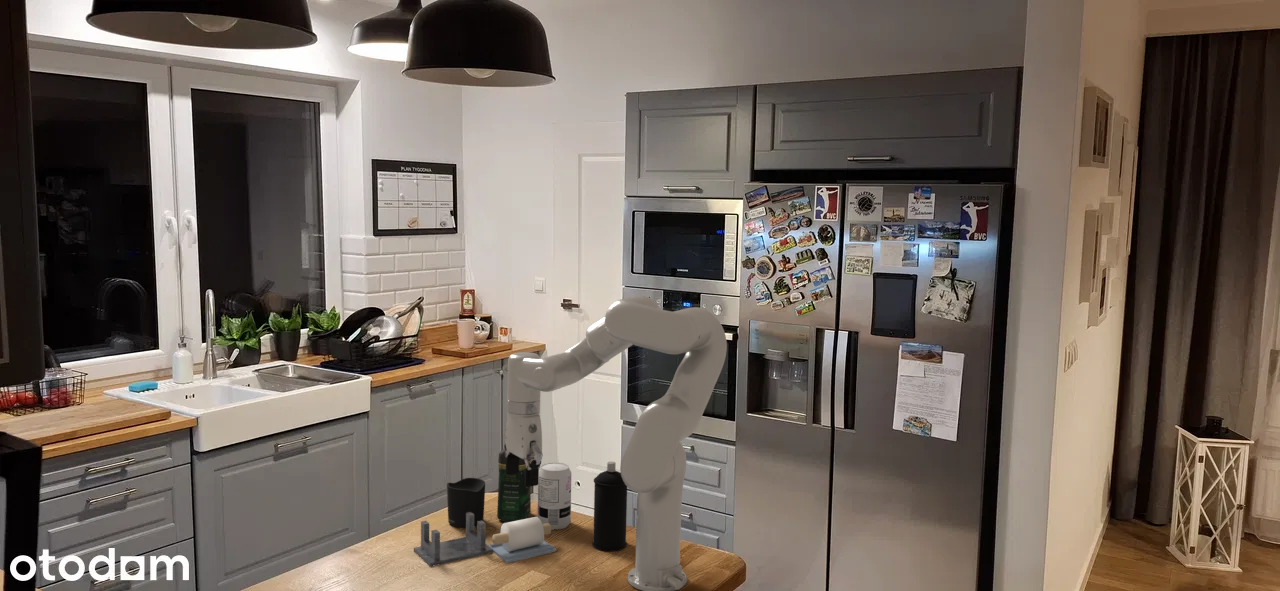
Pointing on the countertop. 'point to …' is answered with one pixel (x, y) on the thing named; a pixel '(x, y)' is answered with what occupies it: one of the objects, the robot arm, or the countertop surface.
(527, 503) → the coffee jar
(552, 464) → the supplement can
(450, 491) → the pen holder
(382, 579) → the countertop surface
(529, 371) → the robot arm
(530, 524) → the paper roll
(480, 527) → the holder
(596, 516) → the aerosol can
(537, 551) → the rest
